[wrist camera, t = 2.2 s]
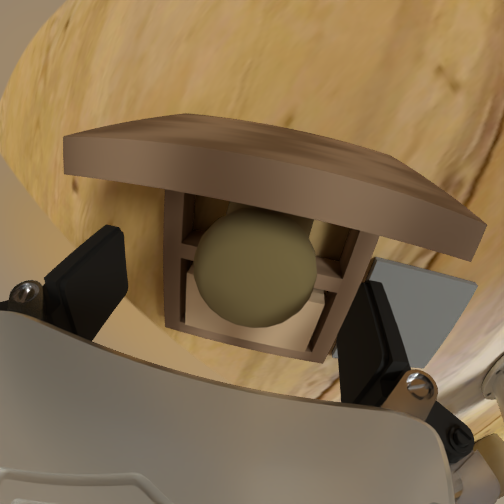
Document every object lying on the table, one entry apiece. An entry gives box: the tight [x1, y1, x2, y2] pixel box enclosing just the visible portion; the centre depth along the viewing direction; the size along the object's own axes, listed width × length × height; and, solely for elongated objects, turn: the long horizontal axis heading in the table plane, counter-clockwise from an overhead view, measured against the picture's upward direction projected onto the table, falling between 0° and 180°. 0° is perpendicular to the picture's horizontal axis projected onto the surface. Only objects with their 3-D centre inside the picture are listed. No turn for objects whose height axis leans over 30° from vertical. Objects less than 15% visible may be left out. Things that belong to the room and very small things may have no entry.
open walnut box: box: [63, 114, 487, 363], centre depth 17 cm, size 14×18×12 cm
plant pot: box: [473, 434, 504, 499], centre depth 29 cm, size 15×15×16 cm
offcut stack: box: [185, 263, 325, 352], centre depth 23 cm, size 10×5×4 cm, turn 81°
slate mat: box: [332, 257, 478, 368], centre depth 23 cm, size 11×11×1 cm
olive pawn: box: [193, 201, 317, 328], centre depth 16 cm, size 6×6×11 cm
